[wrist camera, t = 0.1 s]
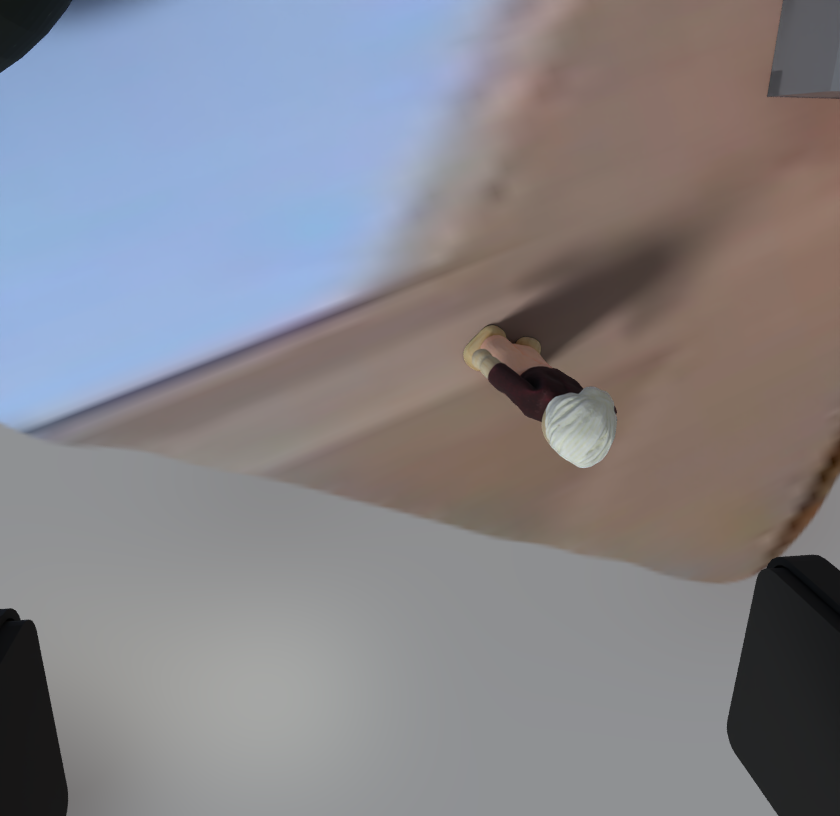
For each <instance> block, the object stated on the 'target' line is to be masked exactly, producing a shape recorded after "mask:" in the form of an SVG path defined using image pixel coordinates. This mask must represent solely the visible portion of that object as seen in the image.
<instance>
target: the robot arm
mask: <svg viewBox="0 0 840 816" xmlns="http://www.w3.org/2000/svg"><path fill="white" fill-rule="evenodd" d="M727 733H728V737H729V741H730V744H731V747H732V749H733V750H734V752H735V754H736V755H737V757H738V758H739V760H740V761H741V763H742V764H743V765H744V767H745V768H746V770H747V771H748V773H749V774H750V775H751V777H752V778H753V780H754V781H755V783H756V784H757V785H758V787H759V788H760V790H761V791H762V793H763V794H764V795H765V797H766V798H767V800H768V801H769V803H770V804H771V806H772V807H773V809H774V810H775V811H776V813H777V814H778V816H840V571H839V570H838V569H837V568H836V567H835V566H833V565H832V564H831V563H830V562H828V561H827V560H826V559H824V558H822V557H821V556H819V555H801V556H789V557H776V558H774V559H772V560H771V561H770V563H769V564H768V566H767V569H763V570H761V572H760V573H759V574H758V577H757V581H756V585H755V590H754V595H753V600H752V604H751V609H750V614H749V619H748V624H747V628H746V633H745V638H744V643H743V648H742V653H741V657H740V663H739V667H738V672H737V677H736V682H735V687H734V692H733V696H732V701H731V706H730V711H729V715H728V721H727ZM67 806H68V789H67V783H66V779H65V773H64V768H63V763H62V758H61V753H60V748H59V743H58V737H57V732H56V727H55V722H54V717H53V712H52V707H51V702H50V697H49V692H48V686H47V681H46V676H45V671H44V666H43V661H42V656H41V650H40V646H39V640H38V635H37V630H36V627H35V625H34V623H33V621H31V620H20V617H19V615H18V613H17V612H16V610H14V609H11V608H10V609H0V816H66V813H67Z"/></svg>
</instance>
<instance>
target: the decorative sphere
mask: <svg viewBox="0 0 840 816" xmlns="http://www.w3.org/2000/svg"><path fill="white" fill-rule="evenodd" d="M71 1H72V0H0V73H1V72H2V71H4V70H5V69H6V68H8V67H9V66H11V65H12V64H14V63H15V62H16V61H18V60H19V59H21V58H22V57H23V56H24V55H25V54H27V53H28V52H29V51H30V50H31V49H32V48H33V47H34V46H35V45H36V44H37V43H38V42H39V41H40V40H41V39H42V38H43V37H44V36H46V35H47V34H48V32H49V31H50V30H51V29H52V27H53V26H54V25H55V23H56V22H57V21H58V20H59V18H60V17H61V16H62V14H63V13H64V12H65V11H66V9H67V8H68V6H69V5H70V3H71Z"/></svg>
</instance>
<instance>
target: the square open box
mask: <svg viewBox="0 0 840 816" xmlns="http://www.w3.org/2000/svg"><path fill="white" fill-rule="evenodd" d="M767 97H796V98H831V99H840V0H783V5H782V11H781V17H780V23H779V29H778V35H777V41H776V47H775V53H774V59H773V65H772V71H771V77H770V83H769V89H768V95H767Z"/></svg>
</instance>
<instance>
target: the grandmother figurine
mask: <svg viewBox="0 0 840 816" xmlns="http://www.w3.org/2000/svg"><path fill="white" fill-rule="evenodd" d="M540 352H541V346H540V343H539V342H538V341H537V340H536V339H534V338H530V337H522V338H520V339H519V340H517V341H516V343H515V344H512V343H511V342H510V341H509V340H508V339H506V334H505V333H504V331H503V330H502V329H500V328H499V327H497V326H494V325H490V326H486V327H485V328H484V329H482V330H481V331H480V332H479V333H478V334H477V335H476V336H475V337H474V338H473V339H472V340H471V341H470V342H469V343H468V345H467V346H466V347H465V350H464V353H463V355H464V360H465V362H466V364H467V365H468V366H469V367H471V368H472V369H474V370H476V371H481V373H482V374H483V375H484V376H485V377H486V378H487V379H488V380H489V382H490V383H491V384H492V385H493V386H494V387H495V388H496V389H497V390H499V391H500V392H502V393H503V394H505V395H506V396H508V397H509V398H510V400H511V401H512V402H513V403H514V404H515V405H517V406H518V407H519V409H520V410H521V411H522V412H523V413H524V415H526V416H527V417H529V418H532V419H535V420H538V421H540V422H542V431H543V434H544V436H545V438H546V440H547V441H548V443H549V444H550V445H551V447H552V448H553V449H554V450H555V451H556V452H557V453H558V454H559V455H560V456H561V457H563V458H564V459H566V460H567V461H570V462H571V463H573V464H574V465H576V466H578V467H580V468H587V467H591V466H593V465H594V464H596V463H598V462H599V461H601V460H602V459H603V458H604V457H605V456H606V454H607V453H608V451H609V449H610V446H611V444H612V442H613V440H614V438H615V432H616V424H617V422H616V421H617V417H616V413H617V411H616V408H615V406H614V402H613V400H612V399H611V397H610V395H609V394H608V393H607V392H606V391H603V390H600V389H598V388H596V387H587V388H584V389H583V388H582V387H581V386H580V384H579V383H578V382H577V381H576V380H574V379H572V378H571V377H569V376H567V375H566V374H564V373H563V372H561V371H560V370H558V369H555V368H552V367H551V366H550V365H549V364H548V363H547V362H546V361H545V360H544V359H543V358H542V356H541V355H540Z"/></svg>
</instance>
